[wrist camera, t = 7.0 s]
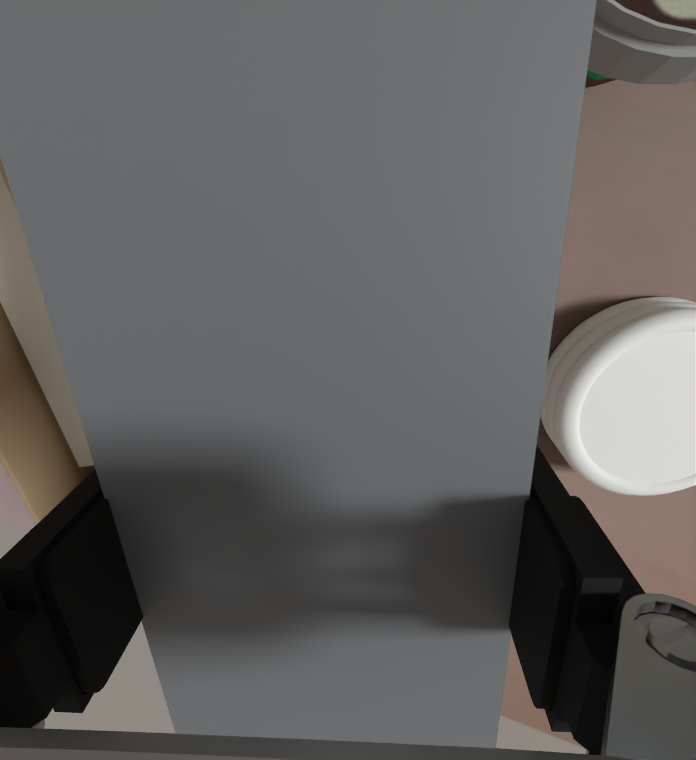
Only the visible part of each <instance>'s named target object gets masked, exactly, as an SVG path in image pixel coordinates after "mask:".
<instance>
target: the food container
mask: <svg viewBox="0 0 696 760" xmlns="http://www.w3.org/2000/svg"><path fill="white" fill-rule="evenodd" d="M617 79H618V80H623V81H628V82H633V83H638V84H678V83H684V82H690V81H696V0H597V2H596V9H595V17H594V24H593V32H592V39H591V46H590V54H589V61H588V69H587V76H586V83H585V87H589V86H597V85H600V84H603V83H607V82H610V81H613V80H617Z"/></svg>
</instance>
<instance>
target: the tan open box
mask: <svg viewBox="0 0 696 760" xmlns="http://www.w3.org/2000/svg"><path fill="white" fill-rule="evenodd" d="M0 461H1V462H2V464H3V466H4V468H5V470H6V471H7V473H8V475H9V477H10V479H11V480H12V482H13V484H14V486H15V488H16V489H17V491H18V493H19V495H20V497H21V498H22V500H23V502H24V504H25V506H26V507H27V509H28V511H29V513H30V515H31V516H32V518H33V520H34V522H35V524H36V525H37V524H38V523H39V522H40V521H41V520H42V519H43V518H44V517H45V516H46V515H47V514H48V513H49V512H50V511H51V510H52V509H54V508H55V507H56V506H57V505H58V504H59V503H60V502H61V501H62V500H63V499H64V498H65V497H66V496H67V495H68V494H69V493H70V492H71V491H72V490H73V489H75V488H76V487H77V486H78V485H79V484H80V483H81V482H82V481H83V480H84V479H85V478H86V477H87V476H88V475H89V474H90V473H91V472H92V471H93V470H94V469H95V466H94V463H93V459H92V456H91V453H90V450H89V446H88V443H87V440H86V436H85V433H84V430H83V426H82V423H81V420H80V417H79V413H78V410H77V407H76V403H75V400H74V397H73V394H72V390H71V387H70V384H69V380H68V377H67V374H66V371H65V367H64V364H63V361H62V357H61V354H60V351H59V348H58V344H57V341H56V338H55V334H54V331H53V328H52V325H51V321H50V318H49V315H48V311H47V308H46V305H45V301H44V298H43V295H42V292H41V288H40V285H39V282H38V278H37V275H36V272H35V269H34V265H33V262H32V259H31V255H30V252H29V249H28V246H27V242H26V239H25V236H24V232H23V229H22V226H21V223H20V219H19V216H18V213H17V209H16V206H15V203H14V200H13V196H12V193H11V190H10V186H9V183H8V180H7V176H6V173H5V170H4V167H3V163H2V160H1V157H0Z"/></svg>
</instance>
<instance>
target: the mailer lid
mask: <svg viewBox="0 0 696 760" xmlns="http://www.w3.org/2000/svg"><path fill="white" fill-rule="evenodd" d="M596 2H597V0H0V157H1V160H2V163H3V167H4V170H5V173H6V176H7V180H8V183H9V186H10V190H11V193H12V196H13V200H14V203H15V206H16V209H17V213H18V216H19V219H20V223H21V226H22V229H23V232H24V236H25V239H26V242H27V246H28V249H29V252H30V255H31V259H32V262H33V265H34V269H35V272H36V275H37V278H38V282H39V285H40V288H41V292H42V295H43V298H44V301H45V305H46V308H47V311H48V315H49V318H50V321H51V325H52V328H53V331H54V334H55V338H56V341H57V344H58V348H59V351H60V354H61V357H62V361H63V364H64V367H65V371H66V374H67V377H68V380H69V384H70V387H71V390H72V394H73V397H74V400H75V403H76V407H77V410H78V413H79V417H80V420H81V423H82V426H83V430H84V433H85V436H86V440H87V443H88V446H89V450H90V453H91V456H92V459H93V463H94V466H95V469H96V473H97V476H98V479H99V482H100V486H101V489H102V492H103V496H104V499H108V501H109V504H110V508H111V511H112V514H113V518H114V521H115V524H116V528H117V531H118V534H119V538H120V541H121V544H122V548H123V551H124V554H125V558H126V561H127V564H128V568H129V571H130V574H131V578H132V581H133V584H134V588H135V591H136V594H137V598H138V601H139V604H140V608H141V611H142V614H143V618H142V620H141V621H142V624H143V627H144V630H145V634H146V637H147V640H148V644H149V647H150V650H151V653H152V656H153V660H154V663H155V666H156V670H157V673H158V676H159V680H160V683H161V686H162V690H163V693H164V696H165V699H166V703H167V706H168V709H169V713H170V716H171V719H172V723H173V726H174V729H175V732H176V734H195V735H219V736H242V737H265V738H289V739H312V740H334V741H355V742H375V743H396V744H417V745H437V746H458V747H479V748H495V747H496V740H497V733H498V725H499V718H500V711H501V703H502V696H503V688H504V681H505V674H506V666H507V659H508V651H509V644H510V637H511V631H510V628H509V619H510V612H511V604H512V596H513V589H514V581H515V574H516V566H517V558H518V551H519V543H520V535H521V528H522V520H523V513H524V505H525V500H529V497H530V489H531V482H532V474H533V467H534V460H535V452H536V445H537V437H538V430H539V423H540V415H541V408H542V401H543V393H544V386H545V378H546V371H547V364H548V356H549V349H550V342H551V334H552V327H553V319H554V312H555V305H556V297H557V290H558V283H559V275H560V268H561V260H562V253H563V246H564V238H565V231H566V223H567V216H568V209H569V201H570V194H571V187H572V179H573V172H574V164H575V157H576V150H577V142H578V135H579V128H580V120H581V113H582V105H583V98H584V91H585V83H586V76H587V69H588V61H589V54H590V46H591V39H592V32H593V24H594V17H595V9H596Z"/></svg>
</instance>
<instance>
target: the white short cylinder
mask: <svg viewBox="0 0 696 760" xmlns="http://www.w3.org/2000/svg"><path fill="white" fill-rule="evenodd" d="M540 416H541V420H542V423H543V426H544V428H545V431H546V432H547V434H548V436H549V437H550V439H551V440H552V442H553V443H554V444H555V445H556V447H557V449H558V450H559V451H560V453H561V454H562V455H563V456H564V458H565V460H566V461H567V463H568V464H569V465H570V466H571V467H572V468H573V470H575V471H576V472H577V473H578V474H579V475H580V476H582V477H583V478H585V479H586V480H588V481H589V482H591V483H593V484H594V485H597V486H599V487H601V488H603V489H606V490H609V491H612V492H615V493H621V494H626V495H639V496H644V495H659V494H665V493H670V492H675V491H679V490H682V489H685V488H688V487H691V486H694V485H696V303H695V302H692V301H689V300H685V299H680V298H674V297H649V298H640V299H635V300H630V301H626V302H623V303H620V304H617V305H614V306H611V307H609V308H607V309H604V310H602V311H600V312H598V313H596V314H595V315H593V316H591V317H590V318H588V319H586V320H585V321H584V322H582V323H581V324H580V325H578V326H577V327H576V328H575V329H573V330H572V331H571V332H570V333H569V334H568V335H567V336H566V337H565V338H564V339H563V341H562V342H561V343H560V344H559V345H558V346H557V348H556V349H555V351H554V352H553V354H552V355H551V357H550V358H549V360H548V364H547V371H546V378H545V386H544V393H543V401H542V408H541V415H540Z"/></svg>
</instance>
